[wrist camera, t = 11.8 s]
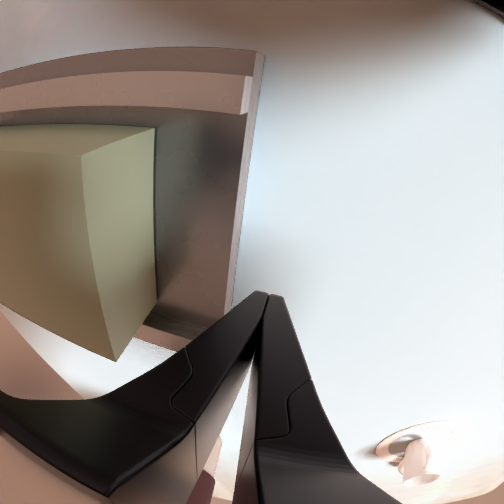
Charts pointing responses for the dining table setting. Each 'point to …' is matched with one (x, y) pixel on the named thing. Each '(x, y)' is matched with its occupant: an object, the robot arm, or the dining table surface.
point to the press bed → (166, 158)
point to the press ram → (78, 230)
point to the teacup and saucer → (419, 453)
